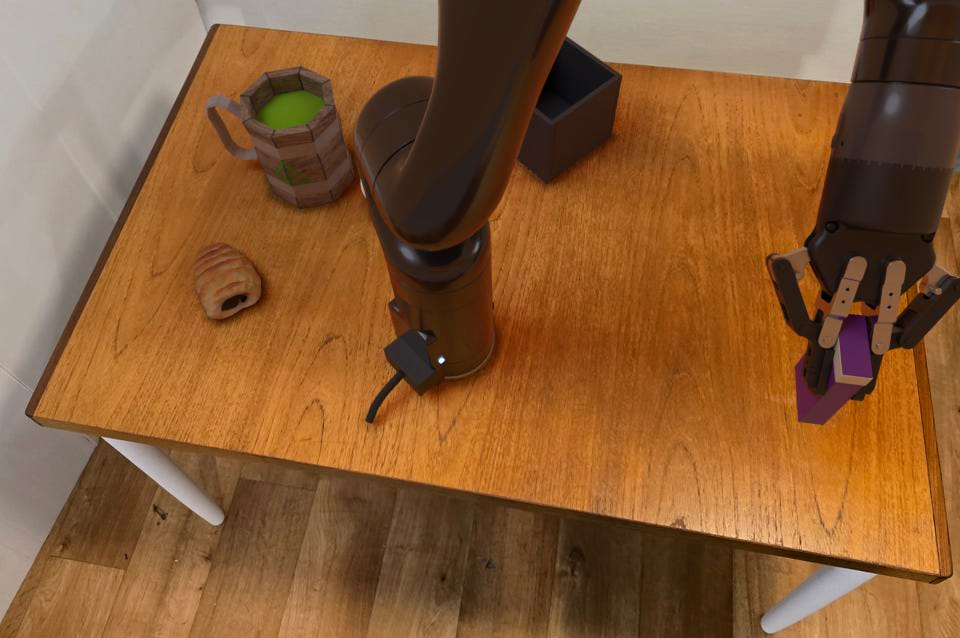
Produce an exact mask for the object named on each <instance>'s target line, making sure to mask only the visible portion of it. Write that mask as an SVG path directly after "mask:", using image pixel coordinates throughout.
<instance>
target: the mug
mask: <svg viewBox="0 0 960 638" xmlns="http://www.w3.org/2000/svg"><path fill="white" fill-rule="evenodd" d="M333 91H334V90H333V86H332V80H331V78H328V77H326V76H324V75H322V74H320V73H318V72H316V71H313V70H311V69H310V68H307V67H305V66H302V65H299V66H292V67H287V68H281V69H276V70H271V71H265V72H263V73H262V74H261V75H260V76H259V77H257V79H255V81H254V82H252V83H251V84H250V85H249V86H248V87H247V88H246V89H245V90H244V91H243V92H242V93H240V94H239V102H240V103H238V102H237V101H236V100H234V99H233V98H230V97H228V96H225V95H222V94H217V95H213V96H210V97H209V98H208V99H206V103H205V112H206V114H205V115H206V118H207V119H208V120H209V122H210V124H211V125H212V127H213V129H214V130H215V132H216V135H217V137H218V138H219V140H220V142H221V144H222V146H223V147H224V149H225V150H226V151H228V152H229V154H231V156H233V157H235V158H237V159H239V160H243V161H252V160H253V161H255V160H258V162H259V164H260V166H261V167H262V169H263V170H264V172H265V175H266V176H267V180H268V181H269V185H270V189H271V193H272V195H273V196H275V197H277V198H279V199H281V200H282V201H283V202H286V203H288V204H290V205H292V206H294V207H295V208H297V209H305V208H311V207H316V206H321V205H326V204H332V203H335V202H336V201H337V200H338V199H339V197H340V196H342V194H343V193H344V192H345V191H346V190H347V189H348V187H349V186H350V185H351V184H352V183H353V182H354V181H355V180H356V178H355V172H354V165H353V159H352V155H351V152H350V150H349V148H348V145H347V143H346V139H345V135H344V130H343V123H342V118H341V116H340V114H339V111H338V108H337V106H336V103H335V98H334V92H333ZM217 107H218V108H220V109H223V110H225V111H227V112H229V113H230V114H232V115H233V116H235V117H237V118H238V119H240V120H241V123H242V126H243V127H244V128H245V130H246V132H247V133H248V135H249V137H250V139H251V142H252V144H253V146H254V148H246V147H242V146H240V145H238V144H237V142H236V141H235V140H234V139H233V137H232V136H231V133H230V132H229V130H228V127H227V126H226V123H225V121H224V120H223V118H222V117H221V115H220V114H219V111H217V109H216V108H217Z"/></svg>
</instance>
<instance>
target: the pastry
mask: <svg viewBox="0 0 960 638" xmlns="http://www.w3.org/2000/svg"><path fill="white" fill-rule="evenodd" d="M192 268H193V277H194V282H193V286H194V291H195V292H196V293H197V295H198V296H197V297H198V300H199V302H200V304H201V305H202V307H203V308H204V309H205V312H206V316H207V317H209V319H212V320H224V319H226V318H228V317H231V316H234V315H235V314H236V313H238V312H239V311H241V310H242V309H244V308H248V307H250V306H252V305H254V304H256V303H257V302H258V301H259V299H260V297H261V295H262V279H261V277H260V275H259V274H258V272H257V271H256V269H255V268H254V266H253V264H252V262H251V261H249V259H247V258H246V256H244V255H243V254H241V252H240V251H238V250H236V249H234V248H233V247H232V246H231V245H230V244H228V243H226V242H222V241H221V242H214V243H211V244H208V245H203V246H200V248H199V250H198V251H197V253H196V254H195V259H194V261H193V265H192Z"/></svg>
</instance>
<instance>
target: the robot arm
mask: <svg viewBox="0 0 960 638" xmlns="http://www.w3.org/2000/svg"><path fill="white" fill-rule="evenodd" d="M582 2H583V0H437V52H436V64H435V72H434V76H431V75H408V76H404V77H400V78H397V79H393V80H392V81H390V82H388V83H386V84H384V85H383V86H381V87H379V89H377V90H376V91H375V92H374V93H373V94H372V95H371V96H370V97H369V98H368V100H367V101H366V102H365V104H364V105H363V106H362V108H361V110H360V112H359V113H358V115H357V118H356V121H355V124H354V127H353V132H352V147H353V154H354V158H355V159H354V160H355V162H356V166H357V169H358V170H357V171H358V174H359V178H360V181H362V185H363V189H364V192H365V196H366V198H365V200H366V203H367V206H368V210H369V213H370V218H371V221H372V223H373V227H374V230H375V233H376V235H377V239H378V242H379V244H380V247H381V250H382V253H383V256H384V260H385V263H386V268H387V271H388V275H389V280H390V284H391V289H392V293H393V295H394V298H393V299H391V300H390V301H389V302H388V303H387V307H388V311H389V314H390V318H391V322H392V326H393V329H394V333H395V337H396V339H395V340H393V341H392V342H390V343H389V344H388V345H387V346H385V347H384V348H383V353H384V356H385V359H386V362H387V363H388V364H389V365H390V366H391V367H392V368H393V369H394V370H395V371H396V372H395V374H394V375H393V376H392V377H391V378H389V380H388V381H387V383H386V384H385V385H384V386H383V387H382V388H381V390H380V391H379V392H378V393H377V394H376V396H375V397H374V399H373V401H372V402H371V404H370V406H369V408H368V410H367V414H366V416H365V419H364V421H365V422H366V423H368V424H371V425H372V424H374V422H375V419H376V416H377V414H378V411H379V409H380V407H381V406H382V404H383V403H384V401H385V399H386V398H387V397H388V395H390V394H391V392H392V391H393V390H394V389H395V388H396V387H397V385H399V383H400V382H401V381H402V380H404V382H406V384H407V385H409V386H410V388H411V389H412V390H413V392H415V393H416V394H417V395H418V396H419V397H421V396H423V395H424V394H426V393H427V392H428V391H429V390H430V389H432V388H433V387H438V386H440V385H441V384H442V383H444V382H456V381H461V380H465V379H468V378H470V377H472V376H474V375H475V374H477V373H478V372H480V371H481V370H482V369H484V367H485V366H486V365H487V364H488V362H489V360H490V358H492V355H493V352H494V350H495V342H496V340H495V339H496V337H495V335H496V333H495V328H494V311H495V302H494V297H493V253H492V232H491V231H492V230H491V224H490V221H489V219H490V218H491V217H492V215H493V214H494V212H495V211H496V210H497V208H498V206H499V205H500V203H501V201H502V199H503V197H504V195H505V193H506V190H507V188H508V186H509V182H510V180H511V178H512V174H513V172H514V170H515V166H516V163H517V161H518V160H517V157H518V154H519V151H520V149H521V146H522V143H523V140H524V137H525V134H526V131H527V129H528V126H529V123H530V120H531V117H532V115H533V112H534V109H535V106H536V104H537V101H538V99H539V96H540V94H541V91H542V89H543V86H544V84H545V82H546V79H547V77H548V75H549V73H550V71H551V68H552V66H553V64H554V62H555V60H556V57H557V55H558V53H559V51H560V48H561V46H562V44H563V42H564V40H565V37H566V36H568V33H569V31H570V28H571V26H572V23H573V22H574V19H575V18H576V15H577V12H578V10H579V8H580V6H581V4H582ZM860 30H861V31H860V33H859V34H860V35H859V39H858V41H859V42H858V43H857V49H856V53H855V57H854V62H853V66H852V72H851V75H850V83H849V84H848V88H847V92H846V94H845V98H844V101H843V103H842V105H841V109H840V112H839V115H838V118H837V121H836V126H835V129H834V133H833V135H832V137H831V141H830V153H829V159H828V163H827V168H826V172H825V177H824V182H823V187H822V192H821V195H820V200H819V204H818V210H817V214H816V219H815V225H814V227H813V229H812V231H811V232H810V234H809V235H807V237H806V239H805V240H804V242H803V246H801V247H799V248H795V249H794V250H790V251H788V252H785V253H782V254H780V253H778V252H771V253H769V254H768V255H767V256H766V257H765V261H764V262H765V266H766V269H767V271H768V275H769V277H770V280H771V283H772V286H773V289H774V292H775V295H776V298H777V301H778V304H779V306H780V309H781V313H782V315H783V317H784V321H785V324H786V326H788V327H789V328H790V329H791V331H792V332H793V333H795V334H796V335H797V336H798V337H802V338H805V339H807V345H806V346H807V347H806V351H805V353H806V355H805V359H804V363H803V368H802V372H801V375H802V380H803V381H804V383H805V384H806V385H807V388H808V390H809V391H810V392H811V393H812V394H813V395H815V396H823V397H824V396H825V394H826V391H827V387H828V383H829V378H830V374H831V370H832V366H833V359H834V355H835V350H834V349H833V348H832V346H834V345H835V343H836V340H837V337H838V334H839V331H840V329H841V326H842V323H843V321H844V319H846V318H847V317H848V314H850V311H851V309H852V305H853V304H854V303H860V305H859V309H860V314H861V315H865V316H866V325H867V334H868V342H869V351H870V360H871V368H872V377H873V379H872V380H871V381H870V382H869V383H868V384H867V385H865V386H863V387H862V388H861V389H860V390H859V391H858V392H857V393H856V394H855V395H854V396H853V397H852V398H851V399H850V400H851V401H855V402H863V401H864V400H865V398H866V395H869V396H870V395H871V394H872V393H873V392H874V390H875V388H876V384H877V381H878V377H879V374H880V369H881V365H882V361H883V357H884V355H885V354H886V353H888V352H889V351H892V350H896V349H901V348H902V349H903V350H912V349H914V348H916V347H917V345H918V344H919V343H921V341H922V340H923V339H924V338H925V336H926V335H928V333H929V332H930V331H932V329H933V328H934V327H935V326H936V325H937V323H939V321H940V320H941V319H942V318H944V316H945V315H946V314H947V313H948V312H949V311H950V309H951V308H952V307H953V306H955V304H956V303H958V301H959V300H960V277H959V276H957V275H955V274H952V273H950V272H949V271H947V270H946V269H944V268H943V267H941V266H940V265H939V264H937V263H936V261H937V254H936V251H935V247H934V239H935V237H936V234H937V232H938V229H939V227H940V223H941V219H942V216H943V213H944V212H943V211H944V209H945V205H946V200H947V196H948V192H949V188H950V185H951V181H952V177H953V173H954V169H955V165H956V161H957V157H958V154H959V150H960V0H863V13H862V24H861V29H860ZM365 196H364V197H365ZM807 264H809V266H810V268H811V270H812V272H813V275H814V276H815V278H816V279H817V282H818V284H819V289H818V291H817V294H816V297H815V301H814V307H815V308H814V313H813V315H812V318H810V316H809V313H808V310H807V307H806V303H805V301H804V298H803V295H802V292H801V288H800V285H799V282H801V281H802V280H803V279H804V277H805V267H806V265H807ZM920 280H921V281H920ZM919 281H920V282H919ZM918 282H919V284H918V291H919V292H918V293H917V294H916V295H915V297H914V298H913V299H912V300H911V301H910V302H909V303H908V304H907V305H906V307H905V308H903V310H902V311H901V312H900V313H899V308H900V300H901V297H902V296H903V295H904V294H905V293H906V292H908V291H909V290H910V289H911V288H912V287H913V286H914V285H916V283H918ZM898 313H899V315H898Z"/></svg>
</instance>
